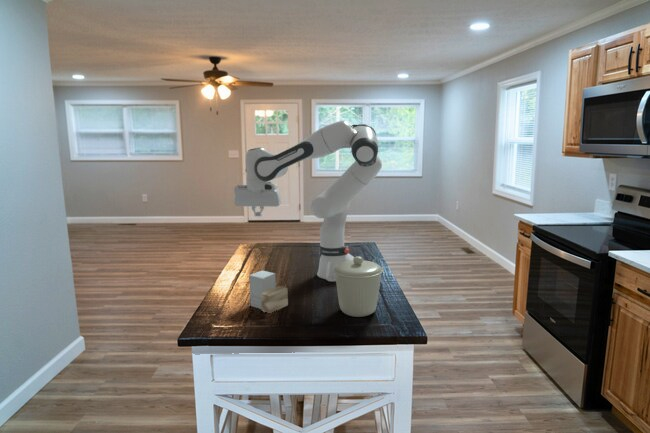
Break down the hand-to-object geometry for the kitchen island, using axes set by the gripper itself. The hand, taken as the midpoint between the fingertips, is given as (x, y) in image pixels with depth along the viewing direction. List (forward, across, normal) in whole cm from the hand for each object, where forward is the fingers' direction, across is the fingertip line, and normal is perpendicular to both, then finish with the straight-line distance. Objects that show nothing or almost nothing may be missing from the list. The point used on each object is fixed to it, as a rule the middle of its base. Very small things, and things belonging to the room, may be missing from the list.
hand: (258, 216), depth 190 cm
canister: (+29, +46, -32) cm, 63 cm away
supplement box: (+29, +9, -30) cm, 43 cm away
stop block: (+29, +14, -32) cm, 46 cm away
